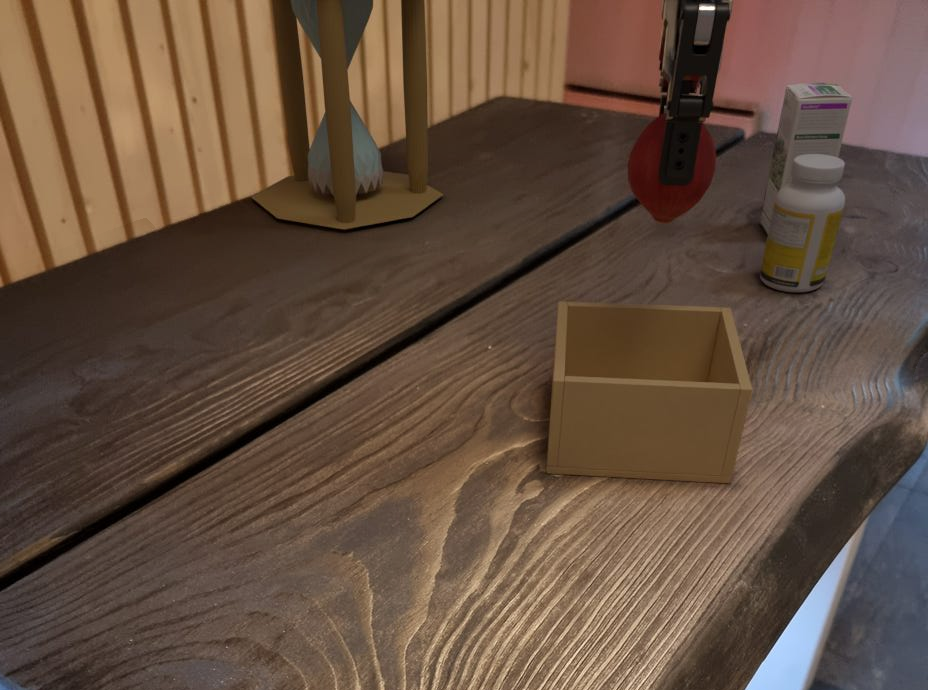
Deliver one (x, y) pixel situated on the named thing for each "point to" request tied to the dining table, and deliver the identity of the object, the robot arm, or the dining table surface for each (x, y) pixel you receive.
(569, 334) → the open wooden box
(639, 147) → the onion
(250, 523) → the dining table surface
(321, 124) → the hourglass
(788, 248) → the pill bottle
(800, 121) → the syrup box
